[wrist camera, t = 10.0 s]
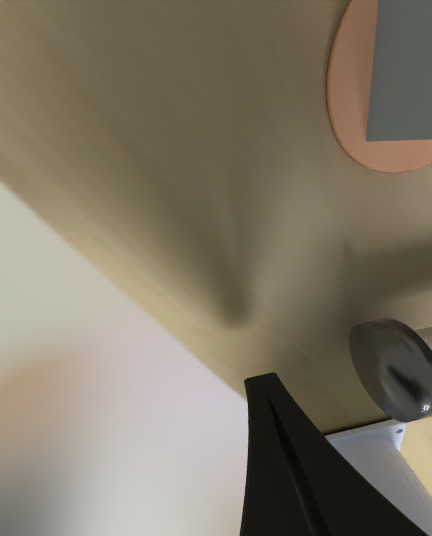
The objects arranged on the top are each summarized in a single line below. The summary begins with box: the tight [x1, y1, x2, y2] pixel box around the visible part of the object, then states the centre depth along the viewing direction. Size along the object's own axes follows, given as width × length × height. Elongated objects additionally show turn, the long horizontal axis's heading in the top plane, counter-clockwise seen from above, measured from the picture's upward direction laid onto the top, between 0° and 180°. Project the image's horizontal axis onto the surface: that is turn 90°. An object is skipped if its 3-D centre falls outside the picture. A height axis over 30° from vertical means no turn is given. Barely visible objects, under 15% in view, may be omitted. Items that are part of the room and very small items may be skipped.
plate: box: [326, 0, 432, 173], centre depth 8 cm, size 7×7×1 cm
